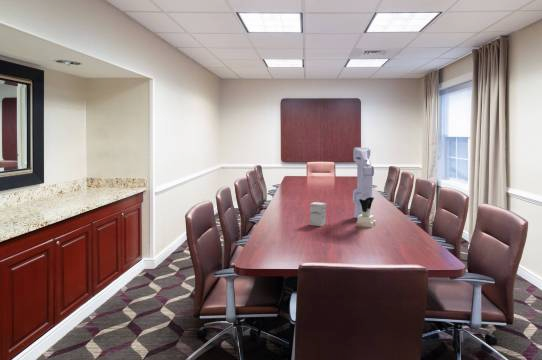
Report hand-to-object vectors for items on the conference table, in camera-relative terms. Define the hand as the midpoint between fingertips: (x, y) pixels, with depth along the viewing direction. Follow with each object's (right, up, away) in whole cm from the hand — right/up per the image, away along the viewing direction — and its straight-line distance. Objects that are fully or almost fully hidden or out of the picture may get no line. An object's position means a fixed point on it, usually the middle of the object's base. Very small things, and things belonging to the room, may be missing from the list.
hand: (366, 210), depth 224 cm
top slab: (0, -6, +1) cm, 6 cm away
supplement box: (-28, -9, +2) cm, 29 cm away
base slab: (0, -9, +1) cm, 9 cm away
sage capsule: (0, -3, 0) cm, 3 cm away
